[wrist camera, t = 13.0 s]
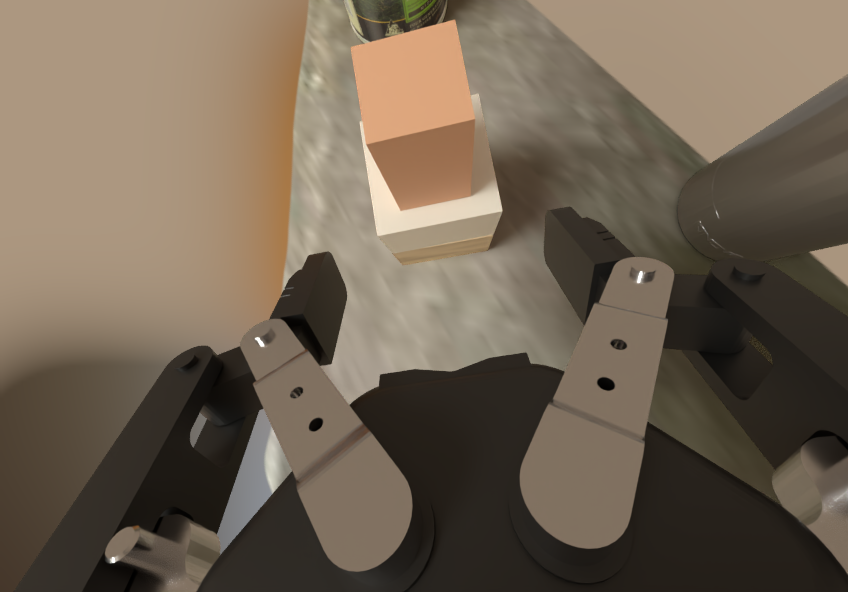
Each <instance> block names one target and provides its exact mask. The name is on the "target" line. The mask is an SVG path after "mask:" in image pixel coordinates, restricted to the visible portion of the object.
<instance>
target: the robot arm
mask: <svg viewBox="0 0 848 592" xmlns="http://www.w3.org/2000/svg"><path fill="white" fill-rule="evenodd" d="M677 212H678V220H679V224H680V226H681V229H682V232H683V233H684V235H685V237H686V238H687V240H688V241H689V242H690V243H691V244H692V245H693V246H694V247H695V249H696V250H698V251H699V252H701V253H702V254H704V255H705V256H707V257H709V258H711V259H713V260H716V261H717V262H715V263H714V264H713V265H712V267H711V269H710V271H709V274H708V275H681V274H674V272H673V270H672V269H671V268H670V267H669V266H668V265H667V264H665V263H663V262H661V261H658V260H655V259H652V258H646V257H635V256H634V255H633V254H632V253H631V252H630V251H629V250H628V249H627V248H626V247H625V246H624V245H623V244H622V243H621V242H620V241H619V240H618V239H615V236H613V235H612V234H611V233H610V232H608V230H607V229H606V228H605V227H604V226H603V225H602V224H601V223H599V222H597V221H595V220H592V219H590V218H581V217H580V216H579V215H578V214H577V213H576V211H575V210H574V209H573V208H572V207H565V208H559V209H554V210H549V211H547V213H546V218H545V237H544V256H545V261H546V264H547V266H548V267H549V269H550V271H551V272H552V274H553V276H554V277H555V279H556V280H557V282H558V284H559V285H560V287H561V289H562V290H563V292H564V294H565V295H566V297H567V298H568V300H569V302H570V303H571V305H572V307H573V308H574V310H575V311H576V313H577V315H578V316H579V318H580V320H581V321H582V323H583V324H584V325H585V326H584V328H583V331H582V333H581V335H580V338H579V340H578V342H577V345H576V347H575V349H574V352H573V354H572V356H571V359H570V361H569V363H568V366H567V368H566V370H565V372H564V371H562V370H559V369H556V368H553V367H549V366H545V365H539V364H531V363H530V361H529V358H528V355H527V353H519V354H513V355H506V356H500V357H493V358H488V359H486V360H483V361H480V362H478V363H475V364H472V365H470V366H467V367H464V368H462V369H459V370H456V371H452V372H448V371H433V370H418V369H414V370H407V371H400V372H394V373H387V374H381V375H380V381H379V386H378V387H376V388H374V389H372V390H370V391H368V392H366V393H365V394H363V395H361V396H360V397H358V398H357V399H356V400H355V401H353V402H352V403H351V404H350V405H349V404H348V403H347V402H346V400H345V399H344V398H343V396H342V395H341V394H340V392H339V391H338V390H337V388H336V387H335V386H334V384H333V383H332V382H331V380H330V379H329V378H328V376H327V375H326V374H325V372H324V371H323V370H322V368H321V367H320V366H322V365H328V364H332V360H333V356H334V351H335V347H336V343H337V339H338V335H339V330H340V326H341V322H342V318H343V313H344V309H345V305H346V301H347V291H346V287H345V284H344V281H343V279H342V277H341V274H340V272H339V270H338V267H337V265H336V263H335V260H334V258H333V256H332V254H331V253H330V252H323V253H318V254H312V255H309V256H308V257H307V259H306V262H305V264H304V266H303V268H302V270H298V271H297V272H296V273H295V274H294V275H293V276H292V277H291V278H290V279H289V280H288V283H287V285H286V287H285V290H284V291H283V293H282V295H281V298H280V299H279V301H278V303H277V305H276V307H275V309H274V311H273V313H272V315H271V317H270V319H269V320H266V321H263V322H261V323H259V324H257V325H255V326H254V327H253V328H251V329H250V330H249V331H248V332H247V333H246V334H245V335H244V336H243V338H242V340H241V342H240V347H237V348H234V349H232V350H230V351H227V352H224V353H222V354H219V355H217V354H216V353H215V352H214V351H213V350H212V349H211V348H210V347H208V346H198V347H194V348H191V349H189V350H187V351H185V352H183V353H181V354H180V355H178V356H177V357H176V358H174V359H173V360H172V361H171V362H170V363H169V364H168V365H167V366H166V368H165V369H164V371H163V372H162V374H161V375H160V376H159V378H158V379H157V381H156V382H155V384H154V385H153V387H152V388H151V390H150V391H149V393H148V394H147V395H146V397H145V399H144V400H143V401H142V403H141V404H140V406H139V407H138V409H137V410H136V412H135V413H134V415H133V416H132V418H131V419H130V421H129V422H128V423H127V425H126V427H125V428H124V429H123V431H122V433H121V434H120V435H119V437H118V438H117V440H116V441H115V443H114V444H113V446H112V447H111V449H110V450H109V452H108V453H107V454H106V456H105V458H104V459H103V460H102V462H101V464H100V465H99V466H98V468H97V469H96V471H95V472H94V474H93V475H92V477H91V478H90V480H89V481H88V483H87V484H86V485H85V487H84V488H83V490H82V491H81V493H80V494H79V496H78V497H77V499H76V500H75V502H74V503H73V505H72V506H71V508H70V509H69V511H68V512H67V514H66V515H65V516H64V518H63V519H62V521H61V522H60V524H59V525H58V527H57V528H56V530H55V531H54V533H53V534H52V536H51V537H50V539H49V540H48V542H47V543H46V545H45V546H44V547H43V549H42V550H41V552H40V553H39V555H38V557H37V558H36V559H35V561H34V562H33V564H32V565H31V567H30V568H29V570H28V571H27V573H26V574H25V575H24V577H23V578H22V580H21V581H20V583H19V584H18V586H17V587H16V589H15V590H14V592H848V317H847V316H846V315H844V314H843V313H842V312H840V311H839V310H837V309H836V308H834V307H833V306H831V305H830V304H828V303H827V302H825V301H824V300H823V299H821V298H820V297H818V296H817V295H815V294H814V293H812V292H811V291H809V290H808V289H806V288H805V287H804V286H802V285H801V284H799V283H798V282H796V281H795V280H793V279H792V278H790V277H789V276H787V275H786V274H785V273H783V272H782V271H780V270H779V269H777V268H775V267H773V266H771V265H769V264H766V263H764V262H763V261H767V260H772V259H777V258H781V257H786V256H790V255H795V254H801V253H806V252H810V251H815V250H819V249H824V248H828V247H833V246H838V245H842V244H847V243H848V74H847V75H846V76H844V77H843V78H841V79H840V80H838V81H837V82H835V83H833V84H832V85H830V86H829V87H827V88H826V89H824V90H823V91H821V92H820V93H819V94H817V95H815V96H813V97H812V98H810V99H809V100H807V101H806V102H804V103H803V104H801V105H800V106H798V107H797V108H795V109H794V110H792V111H790V112H789V113H787V114H786V115H784V116H783V117H781V118H780V119H778V120H777V121H775V122H774V123H772V124H770V125H769V126H768V127H766V128H764V129H763V130H761V131H760V132H758V133H757V134H755V135H754V136H752V137H751V138H749V139H747V140H746V141H744V142H743V143H741V144H739V145H738V146H736V147H735V148H733V149H732V150H730V151H729V152H727V153H726V154H724V155H723V156H721V157H720V158H718V159H717V160H715V161H713V162H712V163H710V164H709V165H707V166H706V167H704V168H703V169H701V170H700V171H698V172H697V173H696V174H695V175H693V176H692V177H691V178H690V179H689V180H688V182H687V183H686V185H685V186H684V188H683V189H682V192H681V194H680V197H679V200H678V209H677ZM752 336H754V337H755V338H756V339H757V340H758V341H760V342H761V343H762V344H763V345H764V346H765V347H766V348H767V349H768V351H769V352H770V354H771V356H772V360H773V365H772V364H771V363H770V362H769V361H768V360H767V359H766V358H765V357H764V356H763V355H761V354H760V353H759V352H758V351H757V350H756V349H755V348H754V347H753V346H752V345H751V344H750V343H749V341H750V339H751V338H752ZM662 348H669V349H680V350H682V351H683V353H684V354H685V355H686V357H687V358H688V359H689V360H690V362H691V363H692V364H693V365H694V367H695V368H696V369H697V371H698V372H699V373H700V374H701V376H702V377H703V378H704V380H705V381H706V382H707V383H708V385H709V386H710V387H711V388H712V390H713V391H714V392H715V394H716V395H717V396H718V397H719V399H720V400H721V401H722V402H723V404H724V405H725V406H726V408H727V409H728V410H729V411H730V413H731V414H732V415H733V417H734V418H735V419H736V420H737V422H738V423H739V424H740V425H741V427H742V428H743V429H744V431H745V432H746V433H747V434H748V436H749V437H750V438H751V440H752V441H753V442H754V443H755V445H756V446H757V447H758V448H759V450H760V451H761V452H762V454H763V455H764V456H765V457H766V459H767V460H768V461H769V462H770V464H771V465H772V466H773V468H774V469H775V471H774V473H773V475H772V484H773V488H774V491H775V493H776V495H777V497H778V499H779V500H780V502H781V505H779V504H778V503H776V502H775V501H773V500H772V499H770V498H769V497H768V496H766V495H764V494H763V493H761V492H760V491H758V490H756V489H755V488H753V487H752V486H750V485H748V484H747V483H745V482H743V481H742V480H740V479H739V478H737V477H735V476H734V475H732V474H731V473H729V472H727V471H726V470H724V469H723V468H721V467H719V466H718V465H716V464H715V463H713V462H711V461H710V460H708V459H707V458H705V457H703V456H702V455H700V454H699V453H697V452H695V451H694V450H692V449H691V448H689V447H687V446H686V445H684V444H682V443H681V442H679V441H678V440H676V439H674V438H673V437H671V436H670V435H668V434H666V433H665V432H663V431H662V430H660V429H658V428H657V427H655V426H654V425H652V424H650V423H649V422H647V420H648V415H649V410H650V406H651V401H652V396H653V391H654V386H655V382H656V377H657V372H658V367H659V362H660V357H661V353H662ZM261 409H264V410H265V412H266V415H267V417H268V419H269V421H270V423H271V425H272V428H273V430H274V432H275V434H276V436H277V438H278V441H279V443H280V445H281V447H282V449H283V452H284V454H285V456H286V458H287V460H288V462H289V465H290V467H291V469H292V472H291V473H290V474H289V475H288V476H287V478H286V479H285V480H284V481H283V482H282V484H281V485H280V486H279V487H278V488H277V489H276V491H275V492H274V493H273V494H272V495H271V496H270V498H269V499H268V500H267V501H266V502H265V504H264V505H263V506H262V507H261V508H260V509H259V510H258V512H257V513H256V514H255V515H254V516H253V518H252V519H251V520H250V521H249V522H248V523H247V525H246V526H245V527H244V528H243V529H242V530H241V532H240V533H239V534H238V535H237V536H236V537H235V539H234V540H233V541H232V542H231V543H230V545H229V546H228V547H227V548H226V549H225V550H224V551H223V553H222V554H221V555H220V541H219V538H218V536H217V532H218V529H219V527H220V523H221V521H222V518H223V514H224V512H225V509H226V506H227V503H228V500H229V497H230V494H231V491H232V488H233V486H234V483H235V480H236V477H237V474H238V471H239V468H240V465H241V462H242V459H243V456H244V453H245V450H246V447H247V444H248V442H249V439H250V436H251V433H252V430H253V427H254V424H255V421H256V418H257V415H258V412H259V410H261ZM199 413H201V414H202V415H203V416H204V417H206V418H207V420H206V423H205V425H204V427H203V429H202V431H201V433H200V435H199V437H198V439H197V442H196V444H195V446H194V448H193V447H192V445H191V443H190V432H191V429H192V427H193V425H194V423H195V421H196V419H197V417H198V415H199Z"/></svg>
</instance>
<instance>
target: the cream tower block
mask: <svg viewBox="0 0 848 592" xmlns="http://www.w3.org/2000/svg"><path fill="white" fill-rule="evenodd" d="M471 100H472V105H473V110H474V115H475V132H474V148H473V164H472V180H471V196H469V197H464V198H460V199H455V200H450V201H445V202H441V203H436V204H431V205H426V206H422V207H417V208H412V209H407V210H403V211H400V209H399V207H398V205H397V203H396V201H395V199H394V197H393V195H392V193H391V191H390V190H389V188H388V186H387V184H386V182H385V180H384V178H383V176H382V174H381V172H380V170H379V168H378V167H377V165H376V163H375V161H374V159H373V157H372V155H371V153H370V151H369V149H368V147H367V145H366V141H365V135H364V128H363V122H362V121H360V128H361V134H362V141H363V147H364V153H365V160H366V166H367V172H368V179H369V185H370V192H371V198H372V204H373V211H374V217H375V223H376V230H377V236H378V237H379V238H380V240H381V241H382V242H383V243H384V244H385V245H386V246H387V247H388V249H389V250H390V251H391V252H392V253H393V254H394V253H400V252H405V251H410V250H415V249H420V248H425V247H431V246H436V245H441V244H446V243H451V242H456V241H461V240H467V239H472V238H477V237H482V236H487V235H492V234H494V232H495V230H496V227H497V225H498V222H499V219H500V217H501V214H502V206H501V201H500V196H499V191H498V186H497V181H496V177H495V172H494V167H493V162H492V157H491V152H490V147H489V142H488V137H487V133H486V128H485V123H484V118H483V113H482V108H481V103H480V98H479V94H475V95H471Z"/></svg>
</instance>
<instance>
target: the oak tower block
mask: <svg viewBox="0 0 848 592" xmlns="http://www.w3.org/2000/svg"><path fill="white" fill-rule="evenodd" d="M492 238H493V234H492V235H487V236H482V237H477V238H472V239H467V240H461V241H456V242H451V243H446V244H441V245H436V246H431V247H425V248H420V249H415V250H410V251H405V252H400V253H394V254H393V253H392V254H393V255H394V256H395V257H396V258H397V259H398V261H399V262H400V263H401V264H402V265H408V264H414V263H419V262H425V261H431V260H437V259H442V258H448V257H454V256H460V255H465V254H471V253H477V252H483V251H488V248H489V246H490V243H491V240H492Z"/></svg>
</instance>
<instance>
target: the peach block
mask: <svg viewBox="0 0 848 592" xmlns="http://www.w3.org/2000/svg"><path fill="white" fill-rule="evenodd" d="M351 52H352V58H353V65H354V71H355V78H356V84H357V90H358V97H359V103H360V109H361V116H362V122H363V128H364V135H365V141H366V145H367V147H368V149H369V151H370V153H371V155H372V157H373V159H374V161H375V163H376V165H377V167H378V168H379V170H380V172H381V174H382V176H383V178H384V180H385V182H386V184H387V186H388V188H389V190H390V191H391V193H392V195H393V197H394V199H395V201H396V203H397V205H398V207H399V209H400V211H403V210H407V209H412V208H417V207H422V206H426V205H431V204H436V203H441V202H445V201H450V200H455V199H460V198H464V197H469V196H471V180H472V164H473V148H474V132H475V115H474V110H473V105H472V100H471V95H470V91H469V86H468V81H467V76H466V71H465V66H464V61H463V56H462V51H461V46H460V41H459V37H458V32H457V27H456V22H455V20H451V21H448V22H444V23H440V24H436V25H432V26H429V27H425V28H421V29H417V30H414V31H410V32H406V33H402V34H399V35H395V36H391V37H387V38H384V39H380V40H376V41H372V42H369V43H365V44H361V45H357V46H353V47H351Z"/></svg>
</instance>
